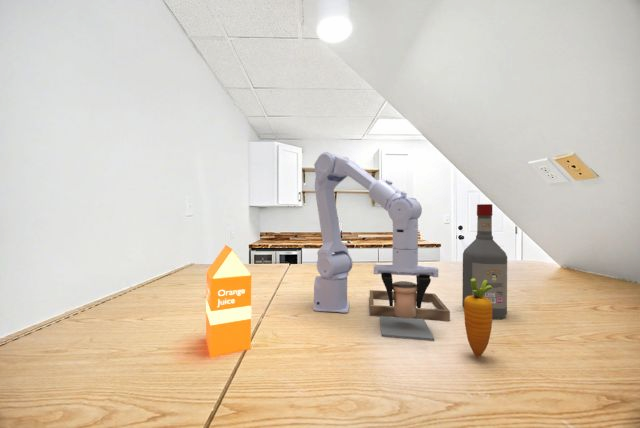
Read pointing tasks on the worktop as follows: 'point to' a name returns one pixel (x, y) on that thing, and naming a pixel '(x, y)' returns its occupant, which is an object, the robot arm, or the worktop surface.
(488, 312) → the carrot
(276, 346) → the worktop surface
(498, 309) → the liquor
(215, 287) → the orange juice
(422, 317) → the cold frame
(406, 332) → the potting mat
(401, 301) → the terracotta pot
